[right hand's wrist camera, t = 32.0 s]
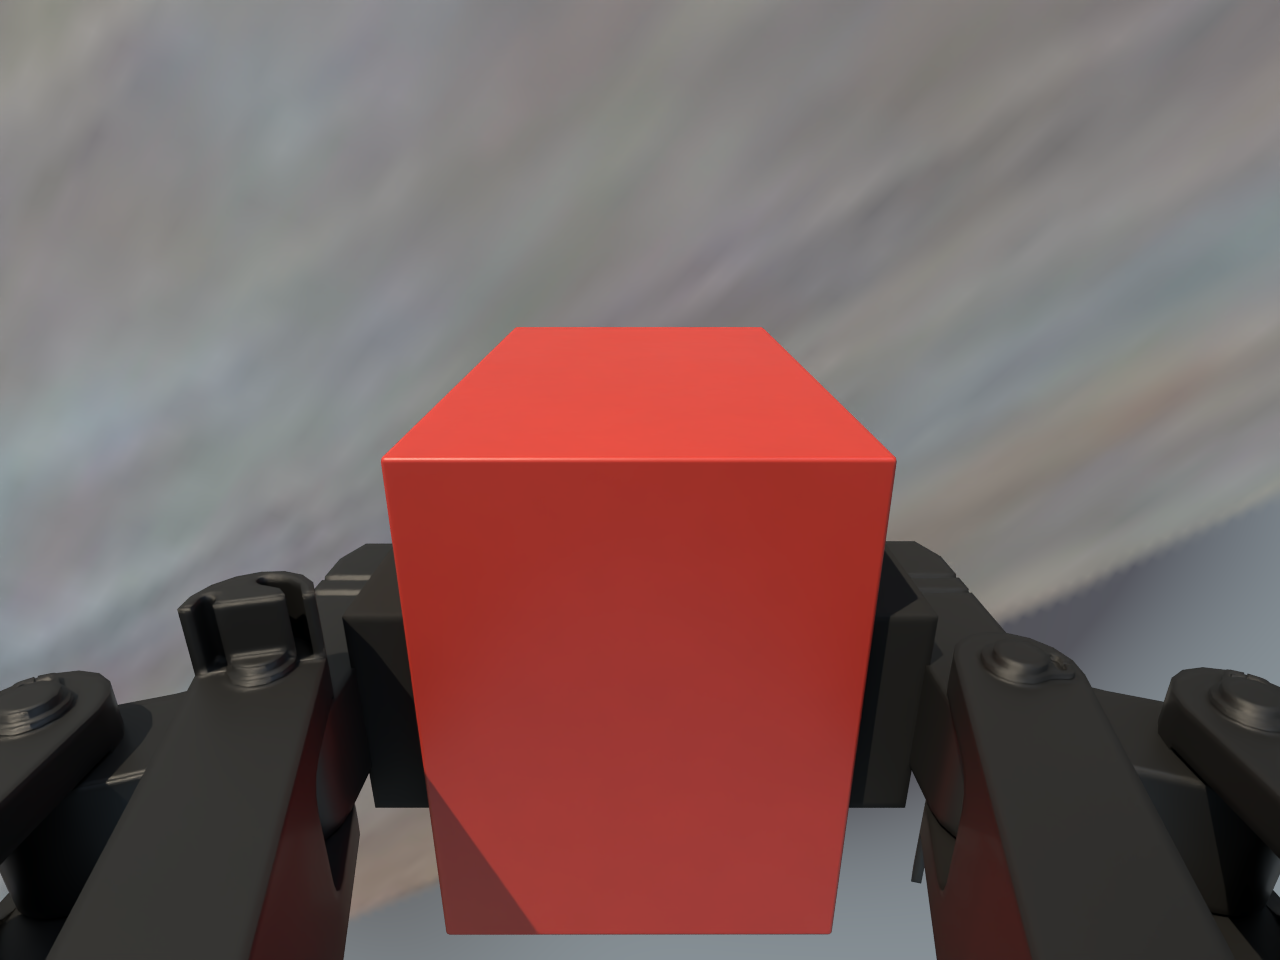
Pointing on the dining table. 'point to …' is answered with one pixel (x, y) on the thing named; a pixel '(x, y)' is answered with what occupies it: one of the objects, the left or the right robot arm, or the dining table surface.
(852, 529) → the brick
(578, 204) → the dining table surface
